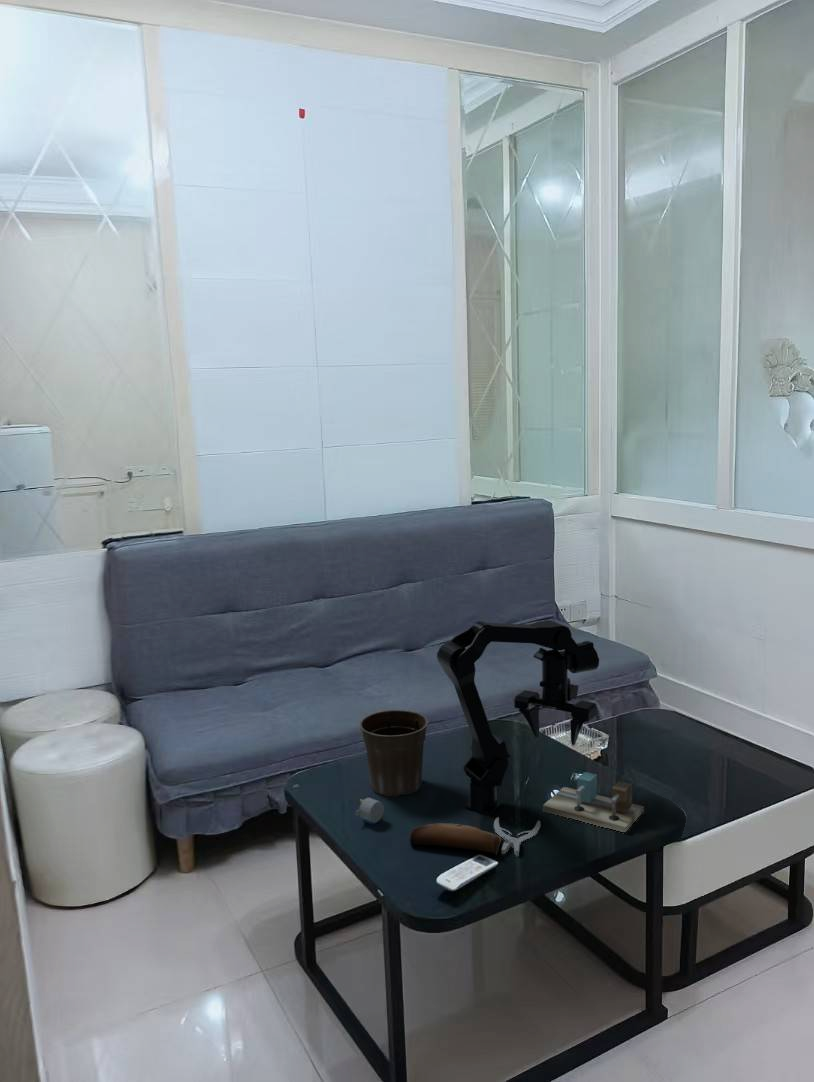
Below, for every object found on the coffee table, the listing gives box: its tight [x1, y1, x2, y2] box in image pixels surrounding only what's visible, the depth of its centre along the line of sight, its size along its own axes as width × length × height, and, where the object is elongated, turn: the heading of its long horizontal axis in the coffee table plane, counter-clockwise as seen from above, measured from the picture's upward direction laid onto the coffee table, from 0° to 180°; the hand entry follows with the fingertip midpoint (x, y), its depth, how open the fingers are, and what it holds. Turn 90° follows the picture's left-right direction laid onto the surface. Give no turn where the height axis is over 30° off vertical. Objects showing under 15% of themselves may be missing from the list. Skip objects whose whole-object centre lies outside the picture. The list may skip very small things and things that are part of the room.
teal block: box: [575, 771, 598, 806], centre depth 190 cm, size 7×3×5 cm, turn 145°
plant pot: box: [359, 709, 429, 798], centre depth 204 cm, size 16×16×16 cm
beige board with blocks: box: [542, 780, 645, 833], centre depth 189 cm, size 11×19×7 cm, turn 55°
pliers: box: [493, 816, 541, 857], centre depth 180 cm, size 10×2×15 cm
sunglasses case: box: [409, 822, 503, 856], centre depth 178 cm, size 18×7×7 cm, turn 74°
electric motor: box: [355, 797, 385, 826], centre depth 189 cm, size 7×5×5 cm
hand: (555, 740), depth 199 cm, fingers open, 9 cm apart
